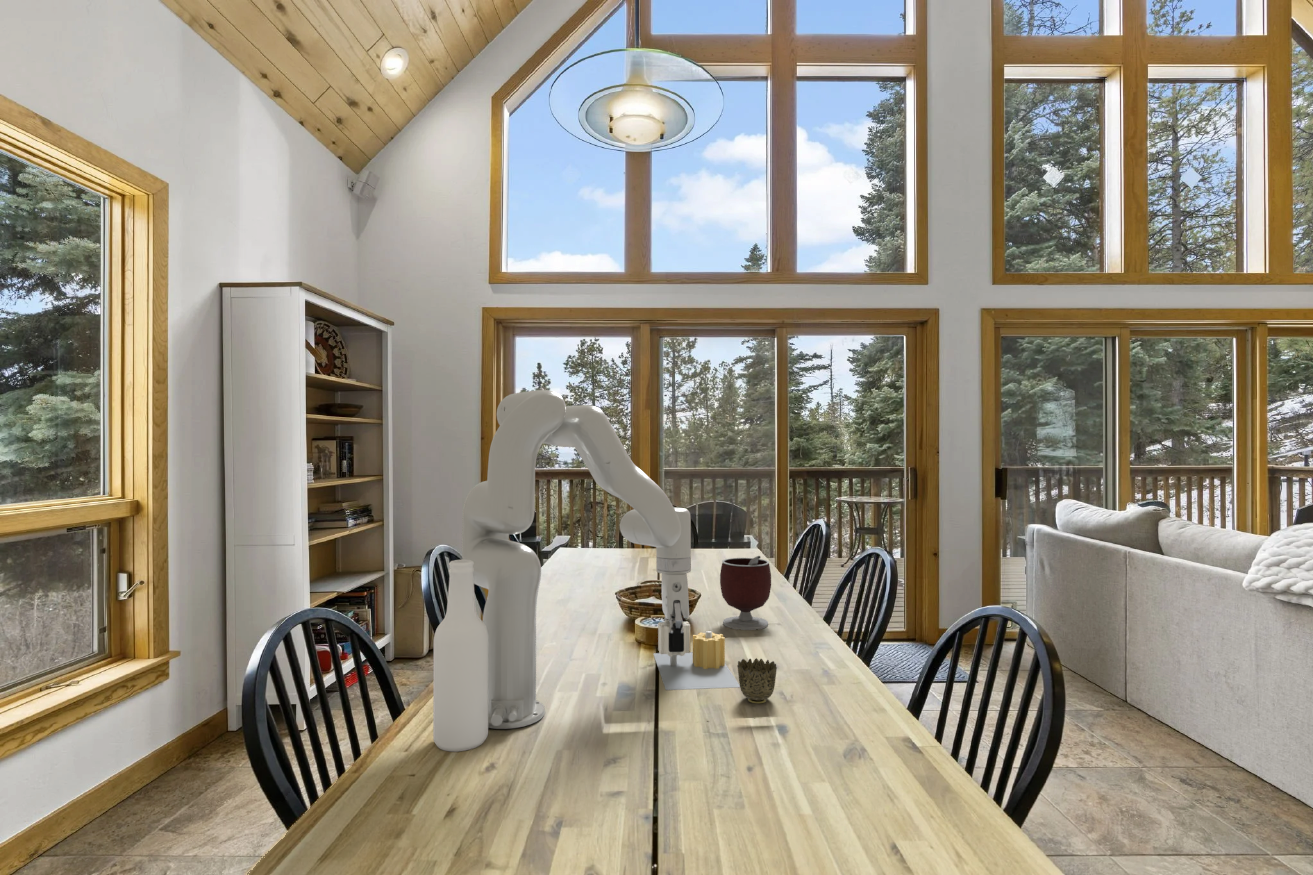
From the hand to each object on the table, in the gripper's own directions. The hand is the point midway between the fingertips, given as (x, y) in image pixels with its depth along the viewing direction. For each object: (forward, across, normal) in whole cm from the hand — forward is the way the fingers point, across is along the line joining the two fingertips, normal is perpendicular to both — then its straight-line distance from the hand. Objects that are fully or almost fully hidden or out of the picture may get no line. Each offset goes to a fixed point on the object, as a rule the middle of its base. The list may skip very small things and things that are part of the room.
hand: (673, 645), depth 154 cm
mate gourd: (+6, +36, -25) cm, 44 cm away
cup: (+6, -22, -13) cm, 26 cm away
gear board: (+5, -3, -4) cm, 7 cm away
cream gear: (+1, 0, 0) cm, 1 cm away
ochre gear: (+4, 0, -8) cm, 9 cm away
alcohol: (+5, -32, +40) cm, 52 cm away
